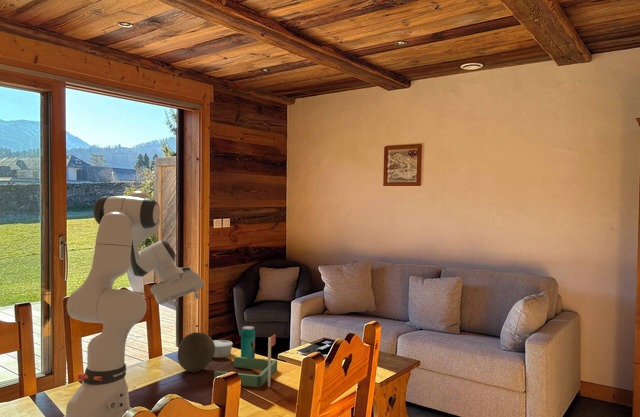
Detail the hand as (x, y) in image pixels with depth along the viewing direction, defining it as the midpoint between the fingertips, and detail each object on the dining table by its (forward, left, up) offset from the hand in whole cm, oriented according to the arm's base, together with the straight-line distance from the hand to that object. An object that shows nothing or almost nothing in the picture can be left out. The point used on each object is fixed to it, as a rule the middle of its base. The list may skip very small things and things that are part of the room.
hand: (187, 301), depth 204 cm
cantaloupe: (-3, -6, -27) cm, 28 cm away
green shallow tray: (-3, -29, -26) cm, 40 cm away
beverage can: (+12, -22, -27) cm, 37 cm away
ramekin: (+19, -6, -27) cm, 33 cm away
